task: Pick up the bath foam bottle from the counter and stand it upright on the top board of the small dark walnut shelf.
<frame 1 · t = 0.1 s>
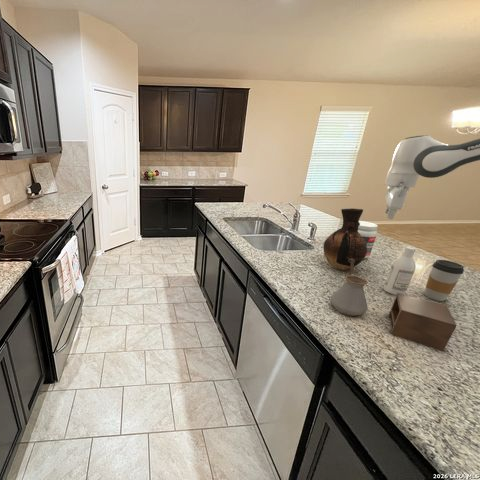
hand: (388, 215, 102), 31 cm above the table, tool pointing down, fingers open, 8 cm apart
coffee pot: (344, 303, 99), on the table
coffee cup: (434, 297, 103), on the table
supplement tub: (354, 255, 141), on the table
ceramic vessel: (339, 266, 128), on the table
shelf: (413, 331, 84), on the table
bath foam: (393, 291, 106), on the table
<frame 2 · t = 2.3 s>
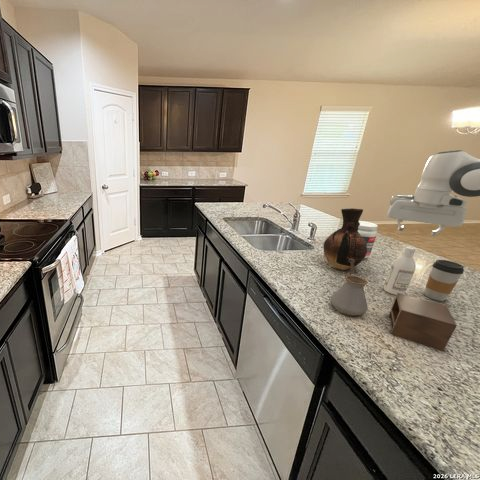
hand: (416, 233, 97), 26 cm above the table, tool pointing down, fingers open, 8 cm apart
nothing on the table moved.
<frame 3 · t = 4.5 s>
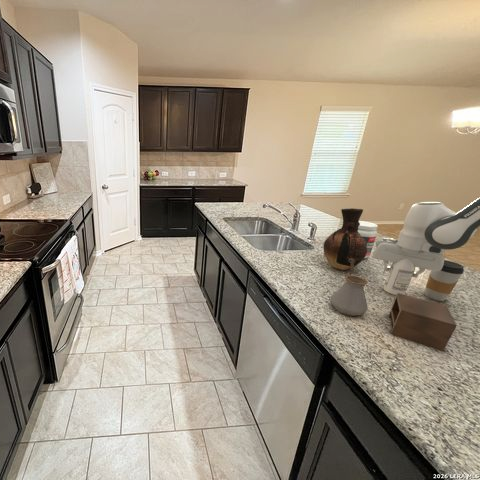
hand: (399, 273, 103), 8 cm above the table, tool pointing down, fingers open, 7 cm apart
bath foam: (393, 291, 106), on the table, touching arm, gripper
everything else where it was.
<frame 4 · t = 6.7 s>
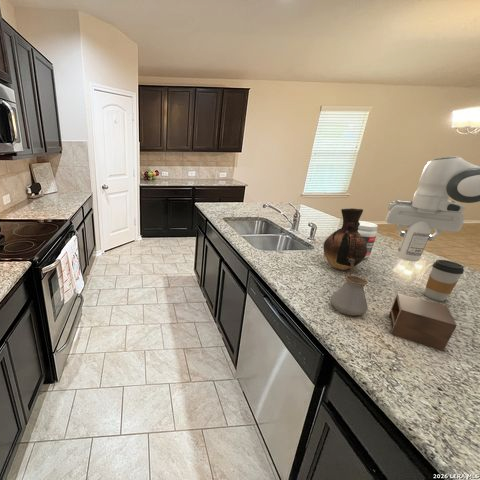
hand: (415, 238, 97), 24 cm above the table, tool pointing down, fingers closed on bath foam, 7 cm apart
bath foam: (406, 258, 101), point 15 cm above the table, touching arm, gripper
everything else where it was.
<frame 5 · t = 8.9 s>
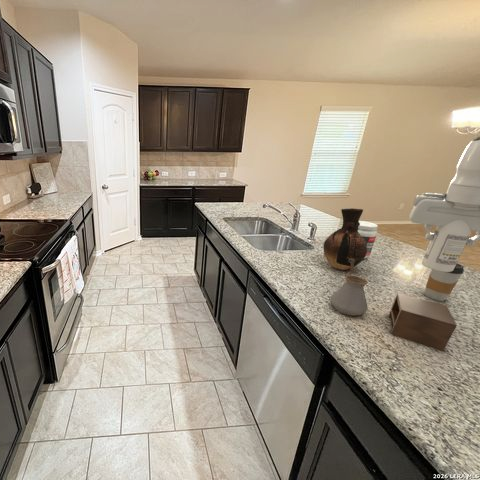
hand: (448, 241, 75), 31 cm above the table, tool pointing down, fingers closed on bath foam, 7 cm apart
bath foam: (435, 267, 78), point 22 cm above the table, touching arm, gripper
everything else where it was.
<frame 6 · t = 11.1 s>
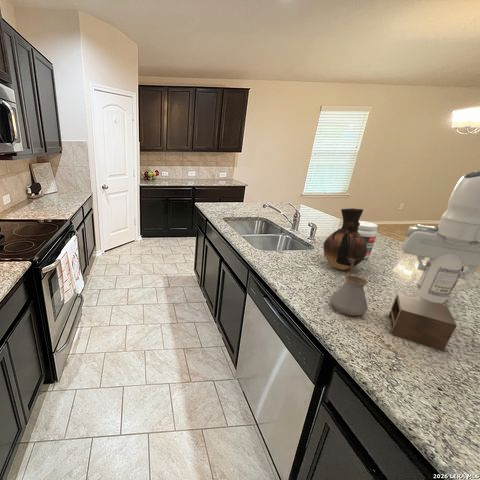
hand: (440, 273, 76), 22 cm above the table, tool pointing down, fingers closed on bath foam, 7 cm apart
bath foam: (428, 298, 79), point 13 cm above the table, touching arm, gripper
everything else where it was.
when the fingers open (18 cm above the table, at t = 12.7 s): bath foam stays where it is, resting on shelf.
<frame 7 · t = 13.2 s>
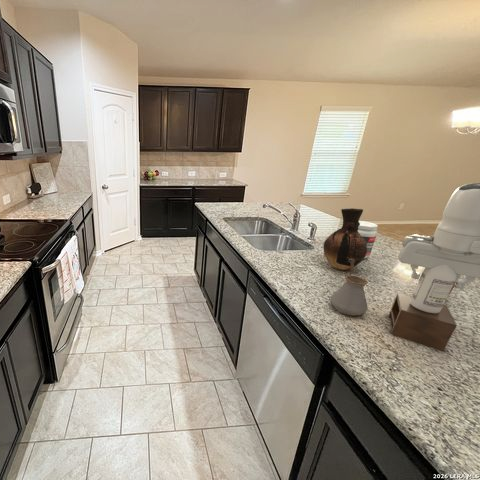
hand: (435, 282, 77), 19 cm above the table, tool pointing down, fingers open, 8 cm apart
bath foam: (423, 307, 80), point 9 cm above the table, touching shelf
everything else where it was.
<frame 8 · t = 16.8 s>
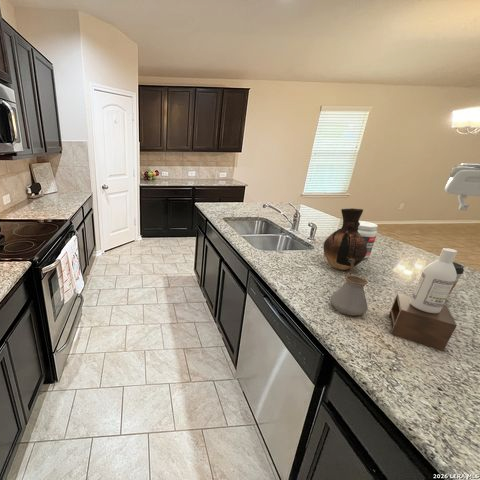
nothing on the table moved.
at the end: bath foam inside the target area on the shelf (0.1 cm from its centre), point 9.4 cm above the shelf's base; bath foam tilted 0° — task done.
